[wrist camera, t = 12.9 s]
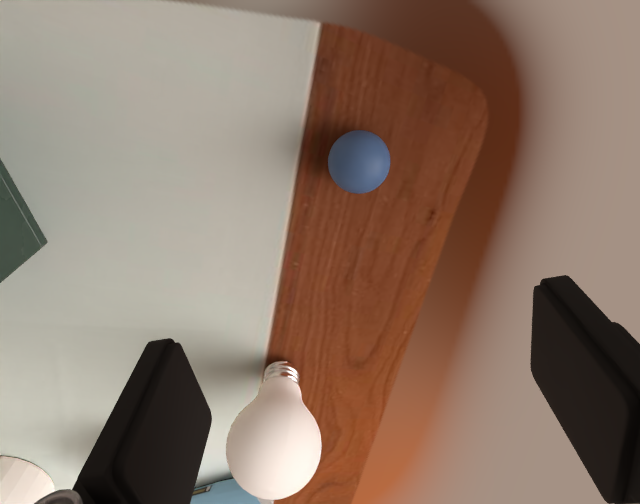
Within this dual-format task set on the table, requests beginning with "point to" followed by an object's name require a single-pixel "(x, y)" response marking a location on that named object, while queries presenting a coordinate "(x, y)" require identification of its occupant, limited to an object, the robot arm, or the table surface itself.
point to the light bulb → (274, 438)
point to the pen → (225, 494)
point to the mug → (22, 482)
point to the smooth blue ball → (359, 161)
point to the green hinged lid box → (15, 227)
